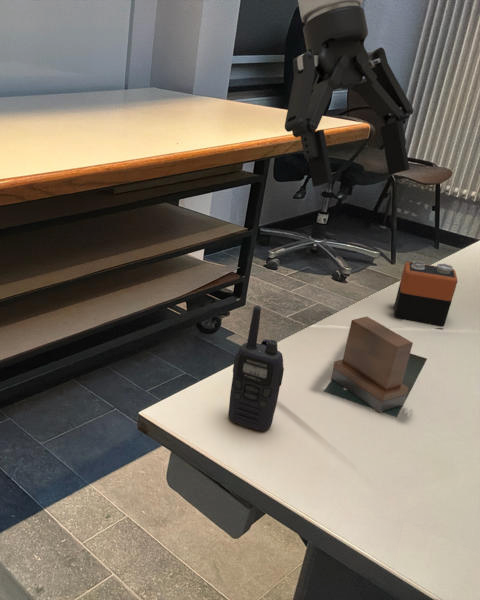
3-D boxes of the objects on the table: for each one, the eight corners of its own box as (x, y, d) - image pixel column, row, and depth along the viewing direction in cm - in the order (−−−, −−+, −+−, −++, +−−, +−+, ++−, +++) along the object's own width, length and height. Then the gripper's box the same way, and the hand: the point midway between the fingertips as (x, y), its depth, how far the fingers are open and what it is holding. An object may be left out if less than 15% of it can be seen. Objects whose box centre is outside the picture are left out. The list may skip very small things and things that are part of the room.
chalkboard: (356, 342, 96) (358, 335, 96) (431, 365, 91) (434, 357, 91) (314, 399, 83) (315, 391, 83) (399, 430, 78) (401, 422, 78)
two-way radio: (222, 421, 79) (238, 307, 72) (234, 402, 82) (251, 291, 76) (268, 437, 76) (290, 320, 70) (279, 417, 80) (301, 304, 73)
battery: (441, 336, 99) (460, 274, 94) (391, 327, 101) (407, 265, 96) (439, 323, 102) (457, 262, 98) (391, 314, 104) (406, 255, 100)
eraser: (330, 378, 86) (343, 318, 82) (354, 371, 87) (368, 313, 83) (379, 412, 79) (395, 350, 75) (404, 405, 81) (421, 343, 77)
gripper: (377, 26, 95) (405, 173, 96) (236, 30, 85) (268, 195, 86) (423, 1, 89) (453, 160, 89) (276, 3, 78) (310, 182, 79)
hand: (362, 178), depth 87 cm, fingers open, 13 cm apart
